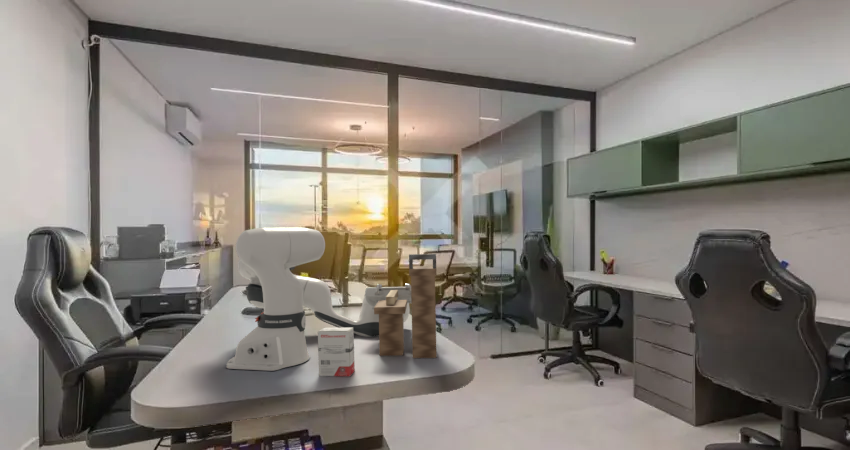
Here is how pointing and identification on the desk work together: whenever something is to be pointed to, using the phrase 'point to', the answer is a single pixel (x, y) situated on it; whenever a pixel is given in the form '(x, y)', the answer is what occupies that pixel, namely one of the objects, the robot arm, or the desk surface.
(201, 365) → the desk surface
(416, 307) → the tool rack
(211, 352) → the desk surface
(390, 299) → the handle
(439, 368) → the desk surface
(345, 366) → the ink box
